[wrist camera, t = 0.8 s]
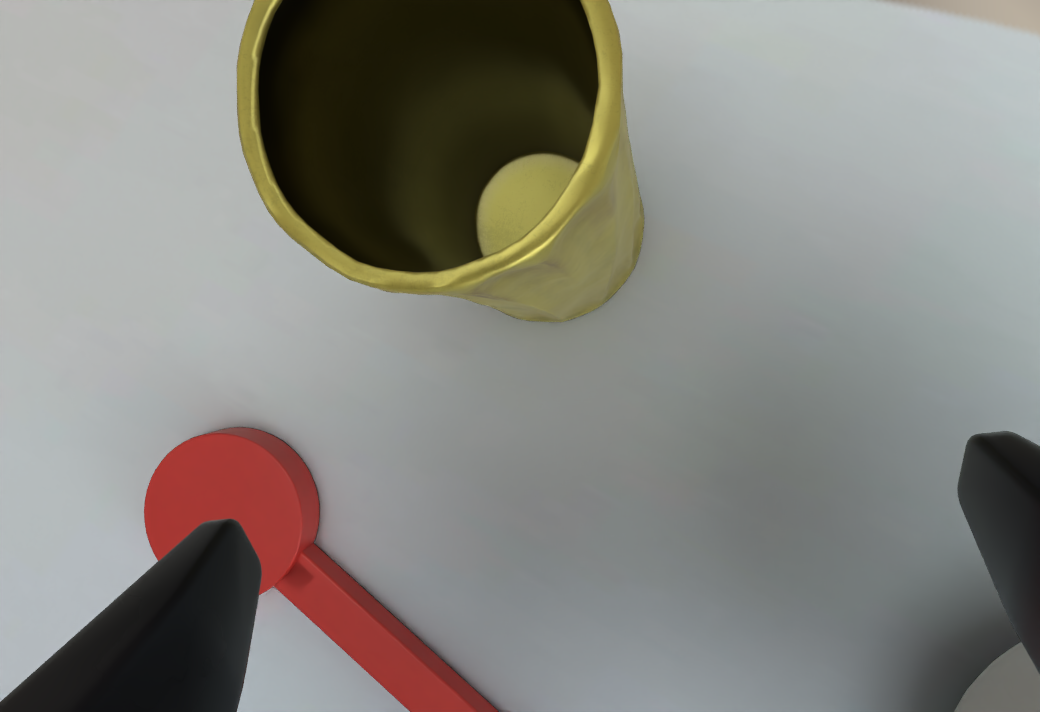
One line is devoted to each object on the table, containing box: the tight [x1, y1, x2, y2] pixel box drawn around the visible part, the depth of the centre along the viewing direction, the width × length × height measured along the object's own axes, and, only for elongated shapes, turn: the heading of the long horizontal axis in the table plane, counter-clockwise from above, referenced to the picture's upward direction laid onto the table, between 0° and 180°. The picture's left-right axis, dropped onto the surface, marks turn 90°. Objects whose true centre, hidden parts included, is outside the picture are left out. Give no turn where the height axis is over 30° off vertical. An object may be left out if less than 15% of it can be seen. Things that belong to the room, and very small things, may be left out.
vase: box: [237, 0, 644, 322], centre depth 16 cm, size 6×6×14 cm
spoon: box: [144, 427, 499, 712], centre depth 24 cm, size 6×18×1 cm, turn 50°
